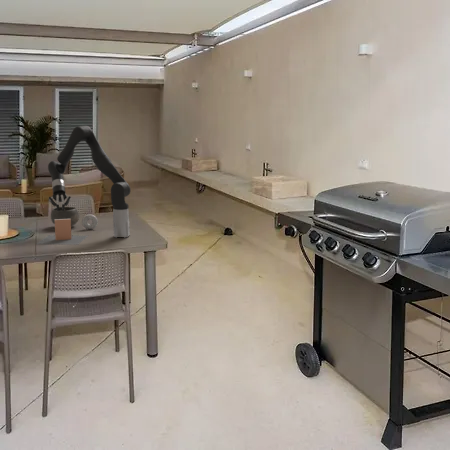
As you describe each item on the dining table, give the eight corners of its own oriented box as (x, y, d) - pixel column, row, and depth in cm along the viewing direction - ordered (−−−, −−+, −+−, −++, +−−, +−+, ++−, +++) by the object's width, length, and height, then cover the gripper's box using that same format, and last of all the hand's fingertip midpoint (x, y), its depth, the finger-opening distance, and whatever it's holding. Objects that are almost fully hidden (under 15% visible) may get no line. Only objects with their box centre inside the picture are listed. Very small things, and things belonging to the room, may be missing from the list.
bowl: (83, 224, 361) (82, 206, 359) (73, 230, 343) (72, 210, 341) (58, 224, 363) (57, 205, 360) (46, 229, 345) (45, 210, 343)
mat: (88, 236, 326) (88, 235, 326) (78, 245, 302) (78, 244, 302) (49, 235, 326) (49, 235, 325) (35, 244, 302) (35, 244, 302)
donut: (82, 230, 344) (81, 215, 342) (82, 229, 347) (81, 214, 345) (98, 229, 346) (97, 214, 344) (98, 228, 349) (97, 213, 347)
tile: (55, 239, 314) (54, 219, 312) (71, 238, 317) (70, 218, 315) (55, 240, 312) (54, 220, 310) (71, 239, 316) (70, 219, 313)
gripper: (47, 184, 325) (49, 207, 316) (70, 184, 330) (73, 206, 321) (47, 192, 331) (49, 214, 322) (70, 191, 336) (72, 213, 327)
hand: (61, 210), depth 322 cm, fingers closed
